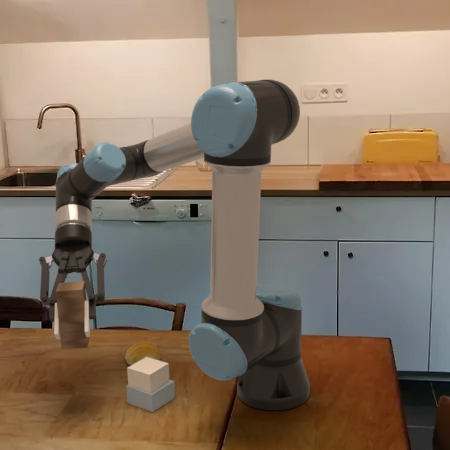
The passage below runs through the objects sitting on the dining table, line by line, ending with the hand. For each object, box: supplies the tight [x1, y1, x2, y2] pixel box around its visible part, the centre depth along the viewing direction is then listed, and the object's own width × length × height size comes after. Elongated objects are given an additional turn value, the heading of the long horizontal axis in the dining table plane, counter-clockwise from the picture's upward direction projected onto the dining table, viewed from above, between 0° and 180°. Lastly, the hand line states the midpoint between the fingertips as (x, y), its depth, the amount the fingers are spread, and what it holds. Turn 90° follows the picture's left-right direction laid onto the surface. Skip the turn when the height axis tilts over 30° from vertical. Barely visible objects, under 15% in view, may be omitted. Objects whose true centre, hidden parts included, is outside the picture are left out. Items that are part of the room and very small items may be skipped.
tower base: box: [125, 379, 176, 413], centre depth 145 cm, size 7×7×4 cm
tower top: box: [126, 357, 171, 393], centre depth 144 cm, size 6×6×4 cm
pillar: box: [56, 280, 91, 350], centre depth 138 cm, size 5×5×12 cm
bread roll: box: [124, 341, 162, 366], centre depth 164 cm, size 8×9×4 cm
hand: (72, 335), depth 135 cm, fingers closed on pillar, 5 cm apart
